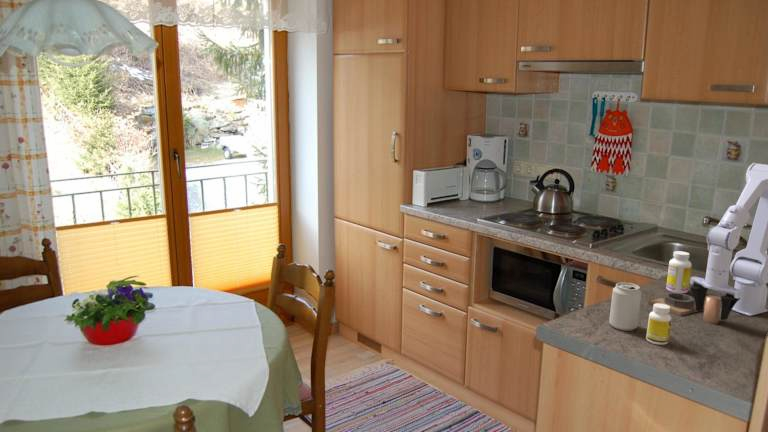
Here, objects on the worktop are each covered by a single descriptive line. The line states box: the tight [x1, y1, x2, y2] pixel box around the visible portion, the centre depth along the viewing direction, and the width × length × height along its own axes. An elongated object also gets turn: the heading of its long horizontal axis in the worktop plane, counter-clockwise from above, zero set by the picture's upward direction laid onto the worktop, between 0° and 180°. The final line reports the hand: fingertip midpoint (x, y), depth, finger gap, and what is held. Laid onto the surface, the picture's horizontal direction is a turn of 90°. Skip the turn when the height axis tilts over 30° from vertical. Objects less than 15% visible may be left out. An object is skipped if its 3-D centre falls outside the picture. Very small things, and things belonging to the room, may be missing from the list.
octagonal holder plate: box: [648, 291, 705, 317], centre depth 194 cm, size 13×11×3 cm
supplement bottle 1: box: [645, 303, 672, 346], centre depth 167 cm, size 5×5×10 cm
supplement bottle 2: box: [665, 250, 693, 294], centre depth 208 cm, size 7×7×13 cm
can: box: [608, 281, 643, 332], centre depth 176 cm, size 8×8×12 cm
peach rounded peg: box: [702, 294, 722, 325], centre depth 183 cm, size 4×4×7 cm
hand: (711, 314), depth 183 cm, fingers open, 7 cm apart
